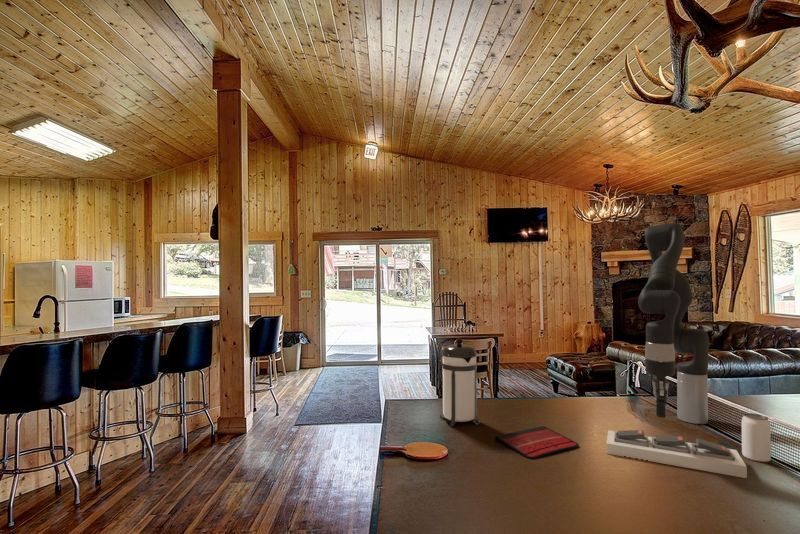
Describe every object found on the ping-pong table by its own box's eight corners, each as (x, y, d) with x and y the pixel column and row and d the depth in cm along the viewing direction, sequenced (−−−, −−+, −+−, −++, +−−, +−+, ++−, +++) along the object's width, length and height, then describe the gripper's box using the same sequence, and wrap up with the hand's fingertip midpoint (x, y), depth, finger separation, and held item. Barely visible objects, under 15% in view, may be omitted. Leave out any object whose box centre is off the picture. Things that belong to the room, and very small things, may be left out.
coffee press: (487, 418, 159) (487, 336, 159) (470, 431, 145) (470, 342, 146) (445, 410, 168) (445, 333, 169) (425, 421, 155) (425, 338, 155)
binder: (494, 435, 137) (542, 424, 147) (494, 442, 137) (542, 431, 147) (531, 456, 123) (582, 443, 132) (530, 464, 123) (581, 450, 133)
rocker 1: (619, 434, 133) (618, 430, 134) (644, 433, 130) (643, 429, 130) (618, 439, 129) (617, 435, 130) (644, 438, 126) (643, 434, 126)
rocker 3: (695, 441, 124) (696, 437, 124) (725, 451, 121) (726, 446, 121) (697, 447, 120) (699, 442, 120) (728, 457, 117) (729, 452, 117)
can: (776, 463, 121) (775, 420, 121) (750, 461, 122) (749, 419, 122) (762, 454, 127) (761, 413, 127) (737, 452, 128) (736, 412, 129)
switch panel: (608, 439, 138) (608, 427, 138) (736, 460, 123) (736, 447, 123) (606, 453, 128) (606, 440, 128) (746, 478, 112) (746, 463, 112)
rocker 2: (656, 439, 129) (655, 435, 129) (683, 440, 126) (682, 435, 126) (657, 445, 125) (656, 440, 125) (685, 445, 122) (684, 441, 122)
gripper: (644, 352, 134) (645, 408, 134) (646, 360, 123) (647, 421, 122) (672, 354, 131) (673, 411, 131) (677, 363, 119) (678, 426, 119)
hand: (660, 416), depth 126 cm, fingers closed
